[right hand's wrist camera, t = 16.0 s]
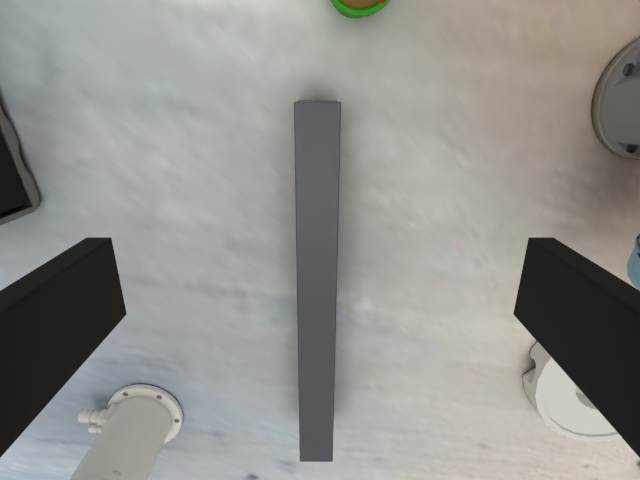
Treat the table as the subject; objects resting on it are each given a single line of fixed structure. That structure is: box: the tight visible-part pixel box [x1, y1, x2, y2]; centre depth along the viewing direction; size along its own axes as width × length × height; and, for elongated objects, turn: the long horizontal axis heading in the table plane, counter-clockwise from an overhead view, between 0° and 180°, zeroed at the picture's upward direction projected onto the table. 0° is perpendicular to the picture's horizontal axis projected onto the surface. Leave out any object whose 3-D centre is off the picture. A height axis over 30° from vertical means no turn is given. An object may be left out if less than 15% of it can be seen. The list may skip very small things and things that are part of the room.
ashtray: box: [523, 342, 622, 442], centre depth 61 cm, size 23×23×4 cm
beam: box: [294, 101, 341, 462], centre depth 54 cm, size 51×5×9 cm, turn 0°
